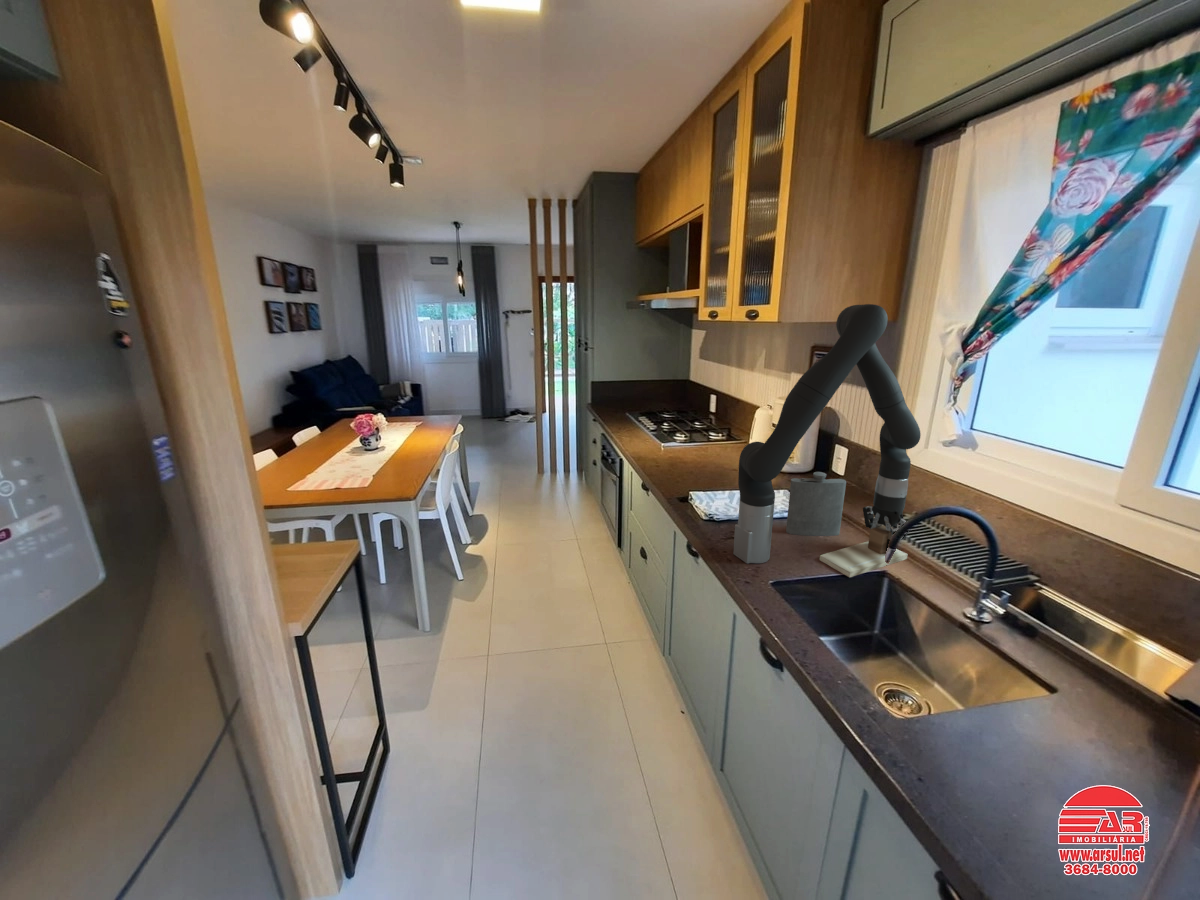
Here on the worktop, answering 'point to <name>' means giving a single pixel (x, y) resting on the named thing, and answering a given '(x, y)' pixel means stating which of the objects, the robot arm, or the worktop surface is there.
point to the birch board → (859, 559)
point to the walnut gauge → (878, 539)
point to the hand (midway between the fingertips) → (881, 546)
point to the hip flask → (815, 506)
